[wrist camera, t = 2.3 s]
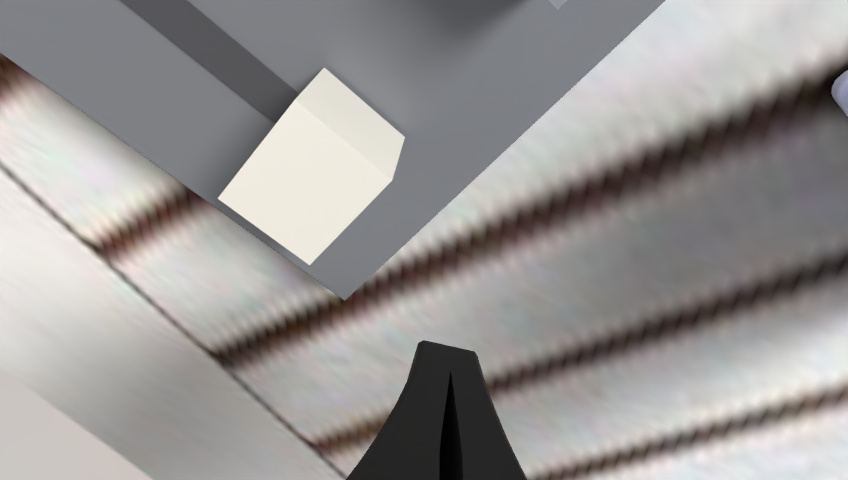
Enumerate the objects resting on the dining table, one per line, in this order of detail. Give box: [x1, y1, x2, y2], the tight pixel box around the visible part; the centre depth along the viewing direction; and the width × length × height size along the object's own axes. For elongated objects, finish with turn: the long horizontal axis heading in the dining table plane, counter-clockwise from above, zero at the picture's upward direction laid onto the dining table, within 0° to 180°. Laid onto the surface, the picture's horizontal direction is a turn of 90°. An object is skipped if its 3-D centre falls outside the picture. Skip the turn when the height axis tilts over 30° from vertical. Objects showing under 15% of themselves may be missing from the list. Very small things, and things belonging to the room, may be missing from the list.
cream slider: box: [218, 67, 405, 265], centre depth 16 cm, size 3×4×3 cm
